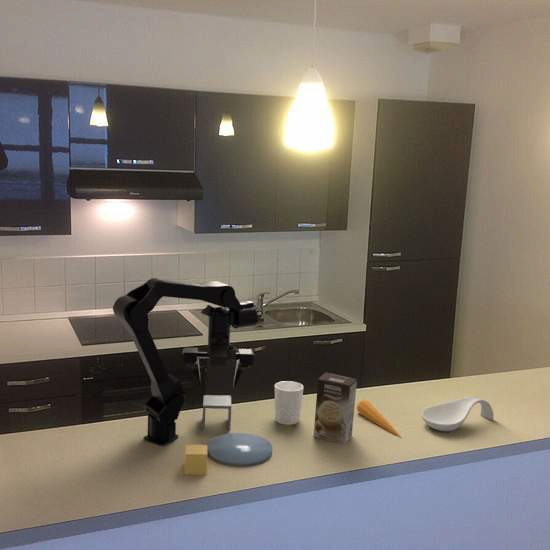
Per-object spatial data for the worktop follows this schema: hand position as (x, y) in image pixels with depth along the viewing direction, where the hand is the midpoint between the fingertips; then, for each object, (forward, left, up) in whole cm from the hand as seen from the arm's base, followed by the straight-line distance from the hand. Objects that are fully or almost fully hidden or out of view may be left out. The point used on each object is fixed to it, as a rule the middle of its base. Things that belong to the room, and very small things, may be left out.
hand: (216, 387), depth 180 cm
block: (+11, -23, -11) cm, 27 cm away
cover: (0, +1, -11) cm, 11 cm away
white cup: (+14, +15, -11) cm, 23 cm away
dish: (+14, -9, -11) cm, 19 cm away
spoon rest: (+54, +43, -11) cm, 69 cm away
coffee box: (+29, +13, -11) cm, 33 cm away
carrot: (+36, +28, -11) cm, 47 cm away
